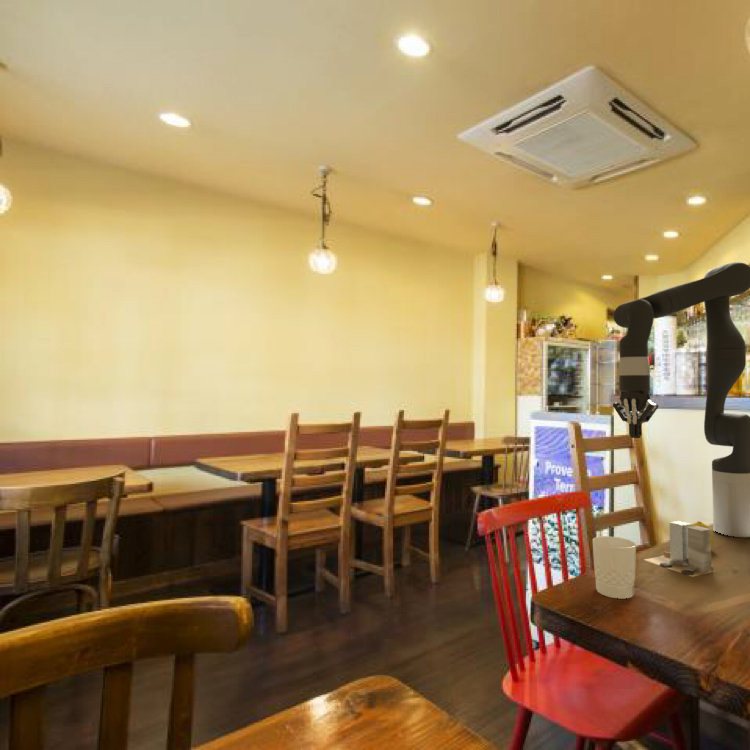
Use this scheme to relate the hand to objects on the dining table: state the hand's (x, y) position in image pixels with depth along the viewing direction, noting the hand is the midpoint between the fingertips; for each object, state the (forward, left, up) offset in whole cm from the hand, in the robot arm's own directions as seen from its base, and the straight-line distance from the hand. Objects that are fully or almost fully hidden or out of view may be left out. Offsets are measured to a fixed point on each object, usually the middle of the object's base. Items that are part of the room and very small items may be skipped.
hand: (635, 437), depth 140 cm
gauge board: (+13, +21, -27) cm, 37 cm away
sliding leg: (+12, +21, -26) cm, 35 cm away
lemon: (-2, +16, -27) cm, 32 cm away
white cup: (+36, +24, -27) cm, 51 cm away
